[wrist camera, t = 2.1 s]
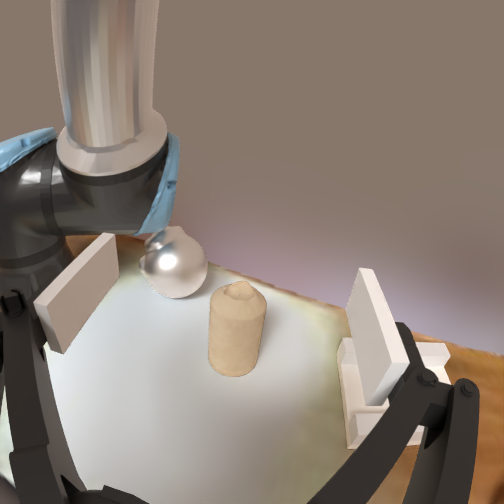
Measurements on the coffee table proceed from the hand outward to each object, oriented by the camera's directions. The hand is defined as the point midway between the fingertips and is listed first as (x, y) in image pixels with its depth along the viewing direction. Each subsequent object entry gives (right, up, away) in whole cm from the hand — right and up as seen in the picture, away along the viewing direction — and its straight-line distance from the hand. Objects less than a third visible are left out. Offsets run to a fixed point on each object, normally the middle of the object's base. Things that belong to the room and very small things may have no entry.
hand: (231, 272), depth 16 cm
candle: (-1, -11, +19) cm, 22 cm away
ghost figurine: (-10, -5, +28) cm, 31 cm away
